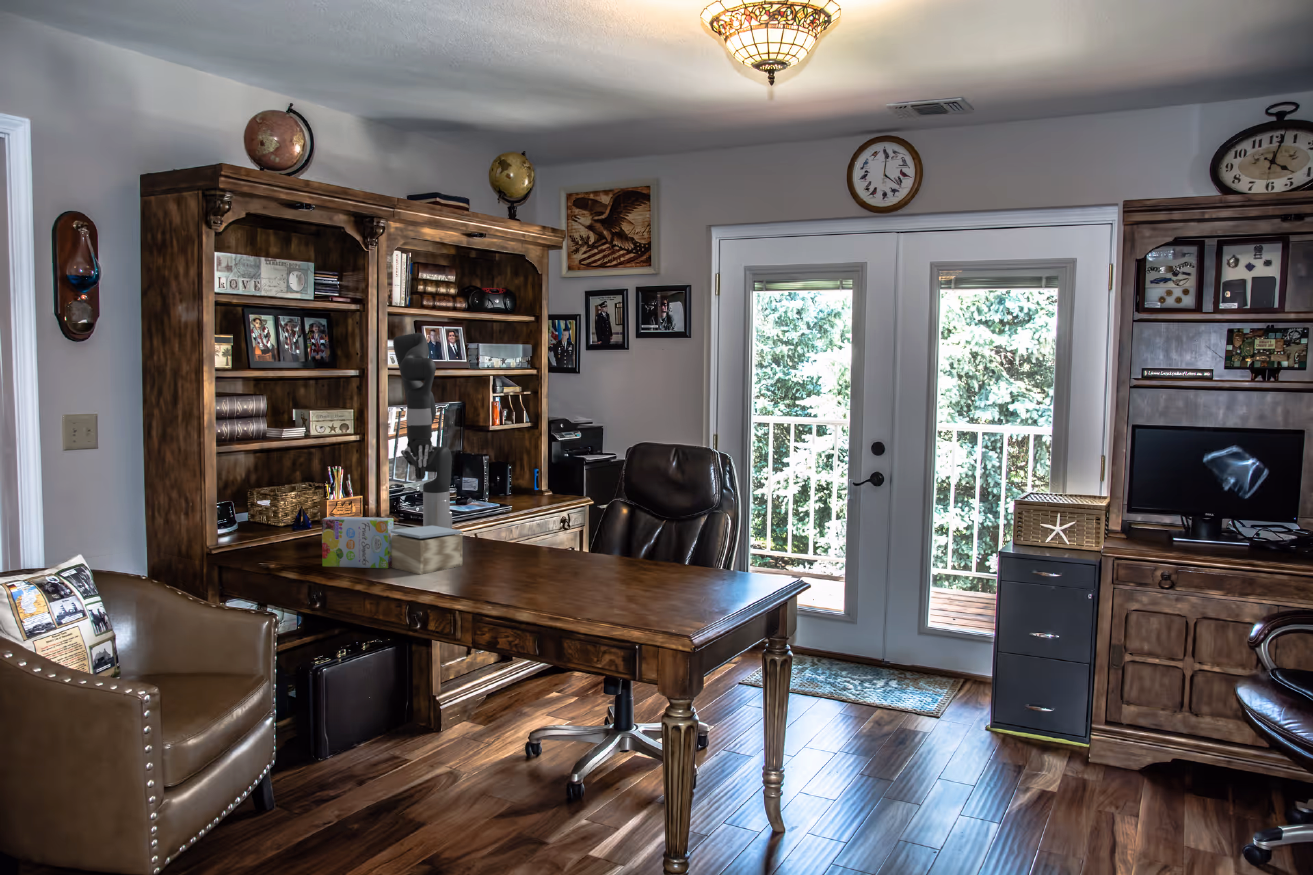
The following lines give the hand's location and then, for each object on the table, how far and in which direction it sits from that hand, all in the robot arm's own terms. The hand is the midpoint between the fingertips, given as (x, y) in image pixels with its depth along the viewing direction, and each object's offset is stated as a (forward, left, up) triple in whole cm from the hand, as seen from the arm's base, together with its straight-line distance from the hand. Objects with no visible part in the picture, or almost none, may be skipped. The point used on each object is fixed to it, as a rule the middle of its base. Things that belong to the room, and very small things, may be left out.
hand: (420, 478), depth 289 cm
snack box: (+13, -14, -27) cm, 33 cm away
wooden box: (0, +3, -27) cm, 27 cm away
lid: (0, +3, -17) cm, 17 cm away
